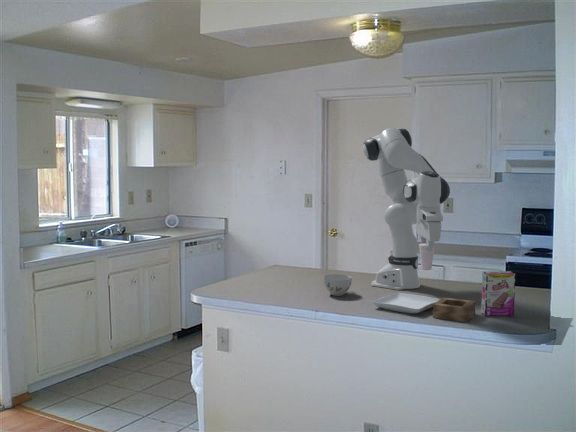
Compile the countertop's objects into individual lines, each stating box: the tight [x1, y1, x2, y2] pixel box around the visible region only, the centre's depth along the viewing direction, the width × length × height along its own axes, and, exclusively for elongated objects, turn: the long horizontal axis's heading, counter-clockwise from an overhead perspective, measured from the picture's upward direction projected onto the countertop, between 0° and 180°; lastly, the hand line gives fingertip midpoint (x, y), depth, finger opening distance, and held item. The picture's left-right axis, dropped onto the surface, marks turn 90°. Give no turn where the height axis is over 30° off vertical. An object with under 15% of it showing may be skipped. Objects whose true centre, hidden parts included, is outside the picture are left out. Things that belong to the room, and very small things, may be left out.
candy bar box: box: [480, 270, 516, 317], centre depth 229 cm, size 11×5×16 cm, turn 92°
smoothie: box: [418, 239, 436, 271], centre depth 235 cm, size 6×6×14 cm
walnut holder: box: [432, 297, 476, 323], centre depth 229 cm, size 13×13×5 cm
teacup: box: [323, 273, 353, 297], centre depth 266 cm, size 15×12×8 cm
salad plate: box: [371, 292, 441, 315], centre depth 243 cm, size 21×21×3 cm
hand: (426, 249), depth 235 cm, fingers closed on smoothie, 6 cm apart
